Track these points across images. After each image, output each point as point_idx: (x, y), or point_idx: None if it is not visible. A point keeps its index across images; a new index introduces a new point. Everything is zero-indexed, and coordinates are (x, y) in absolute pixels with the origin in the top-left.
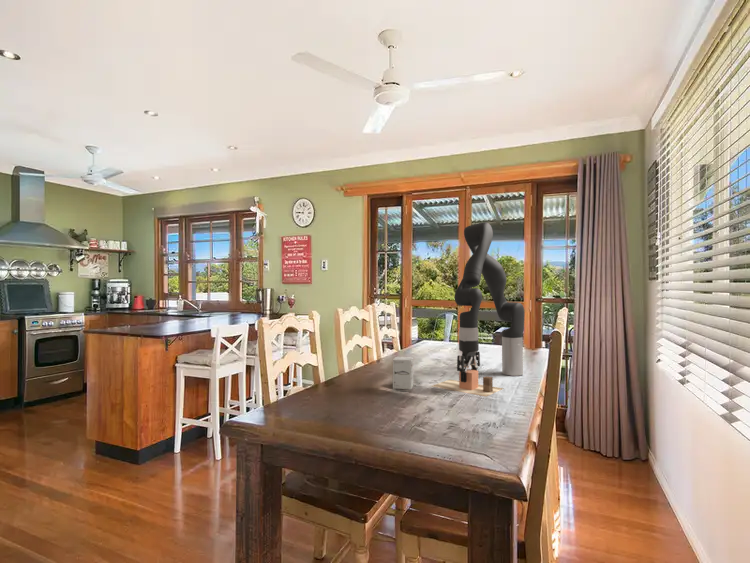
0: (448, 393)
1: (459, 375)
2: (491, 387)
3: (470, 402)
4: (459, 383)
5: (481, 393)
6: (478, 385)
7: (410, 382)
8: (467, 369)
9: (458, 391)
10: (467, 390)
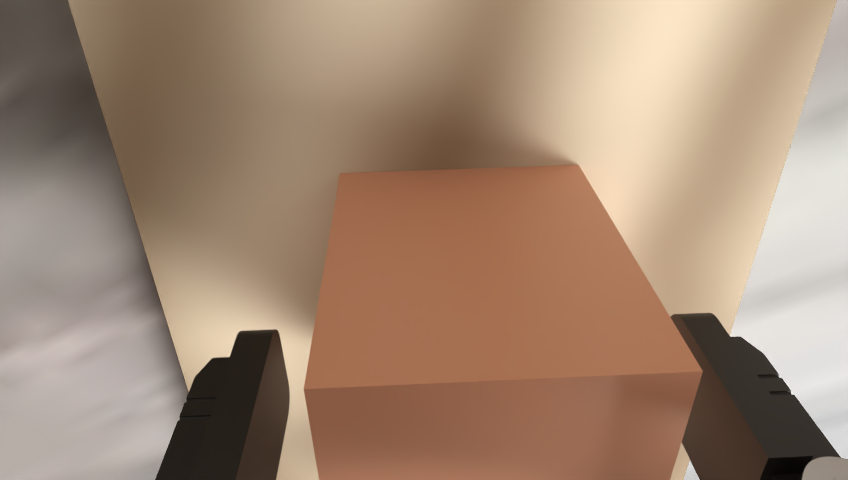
0: (82, 99)
1: (318, 313)
2: None
3: (30, 464)
4: (334, 214)
5: (306, 475)
6: (671, 299)
7: None
8: (644, 425)
9: (151, 265)
10: (299, 324)
